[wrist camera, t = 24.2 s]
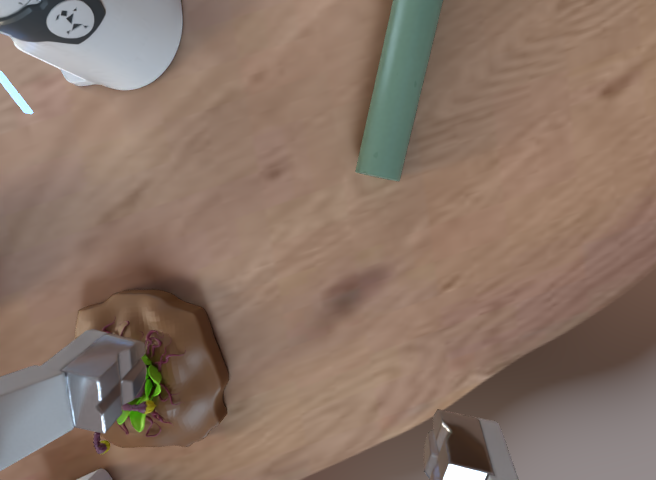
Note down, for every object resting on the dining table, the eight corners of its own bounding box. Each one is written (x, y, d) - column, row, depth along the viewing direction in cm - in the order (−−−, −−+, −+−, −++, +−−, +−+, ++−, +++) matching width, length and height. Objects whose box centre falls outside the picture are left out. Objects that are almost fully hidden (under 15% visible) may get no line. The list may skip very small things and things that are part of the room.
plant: (214, 280, 44) (152, 310, 33) (240, 436, 45) (190, 513, 35) (71, 294, 48) (-27, 325, 37) (101, 437, 49) (16, 506, 39)
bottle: (401, 181, 34) (354, 171, 34) (397, 181, 38) (355, 172, 39) (480, -146, 30) (426, -155, 30) (465, -104, 34) (418, -112, 34)
